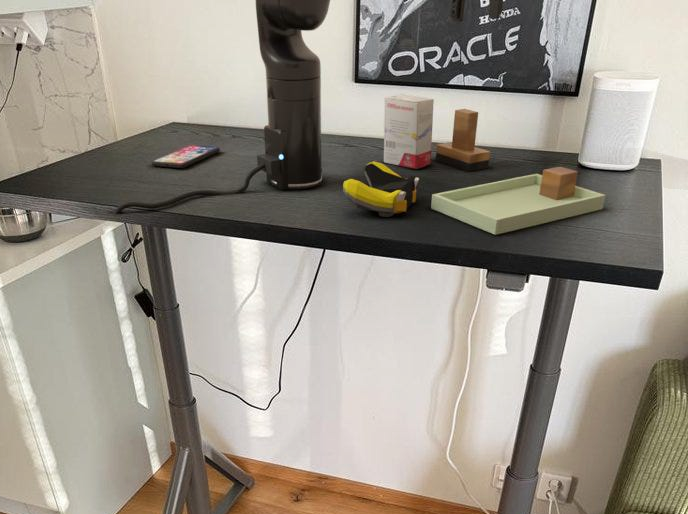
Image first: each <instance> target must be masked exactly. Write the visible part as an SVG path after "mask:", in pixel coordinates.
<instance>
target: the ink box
mask: <svg viewBox="0 0 688 514" xmlns="http://www.w3.org/2000/svg"><path fill="white" fill-rule="evenodd" d="M434 103H435V99H434V98H428V97H423V96H418V95H411V94H406V93H405V94H404V93H398V94H395V95H389V96H386V97H384V116H383V117H384V121H383V122H384V123H383V129H384V130H383V163H384V164H389V165H394V166H399V167H404V168H409V169H413V170H418V169H421V168H424V167H426V166H428V165H431V164H432V143H433V141H432V140H433V122H434Z"/></svg>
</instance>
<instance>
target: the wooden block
mask: <svg viewBox="0 0 688 514" xmlns="http://www.w3.org/2000/svg"><path fill="white" fill-rule="evenodd" d="M578 173H579V171H577V170H573V169H571V168H567V167H563V166H555V167H551V168H546V169H543V170H542V174H541V175H542V180H541V186H540V192H539V195H542V196H545V197H548V198H551V199H554V200H560V199H564V198H569V197H573V195H574V190H575V186H577V185H576V184H577V180H578V179H577V178H578Z"/></svg>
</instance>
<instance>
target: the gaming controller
mask: <svg viewBox="0 0 688 514" xmlns="http://www.w3.org/2000/svg"><path fill="white" fill-rule="evenodd" d="M364 175H365V178H366V180H367V182H368V184H369V185H367V184H365V183H364V182H362V181H360V180H356V179H353V178H349V179H347V180H344V182H343V184H342V192H343V194H344V195H345V196H346V198H347V199H348V201H349V202H351V204H353V205H354V206H355V207H356V208H357V209H361V210H366V211H372V212H377V213H378V215H379V217H384V218H391V217H393V216H395V214H401V213H403V212H407V210H408V208H409V207H410V206H411V205H412V204H413V203H416V201H417V189H416V188H417V185H418V183H419V180H420V178H419V177H416V175H412V176H409V177H406V178H405V177H402V176H401V175H399V174H398V173H396V172H394V171H393V170H392V169H390V168H389V167H388V166H386V165H385V163H381V162H378V161H370V162H369V163H367V164H365V167H364Z"/></svg>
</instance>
